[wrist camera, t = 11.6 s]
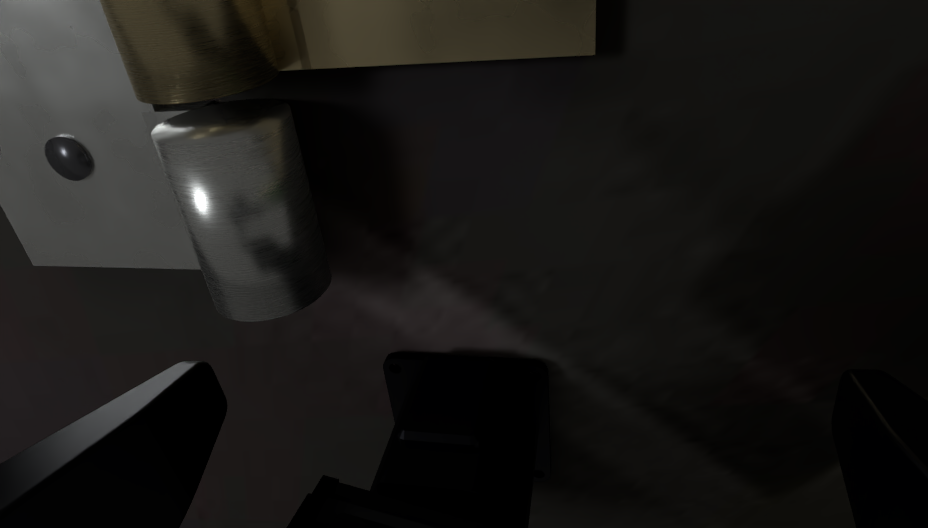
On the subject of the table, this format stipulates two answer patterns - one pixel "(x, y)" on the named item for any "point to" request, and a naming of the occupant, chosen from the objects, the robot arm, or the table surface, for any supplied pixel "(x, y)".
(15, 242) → the table surface
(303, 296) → the steel hinge leaf
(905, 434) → the robot arm
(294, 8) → the brass hinge leaf
